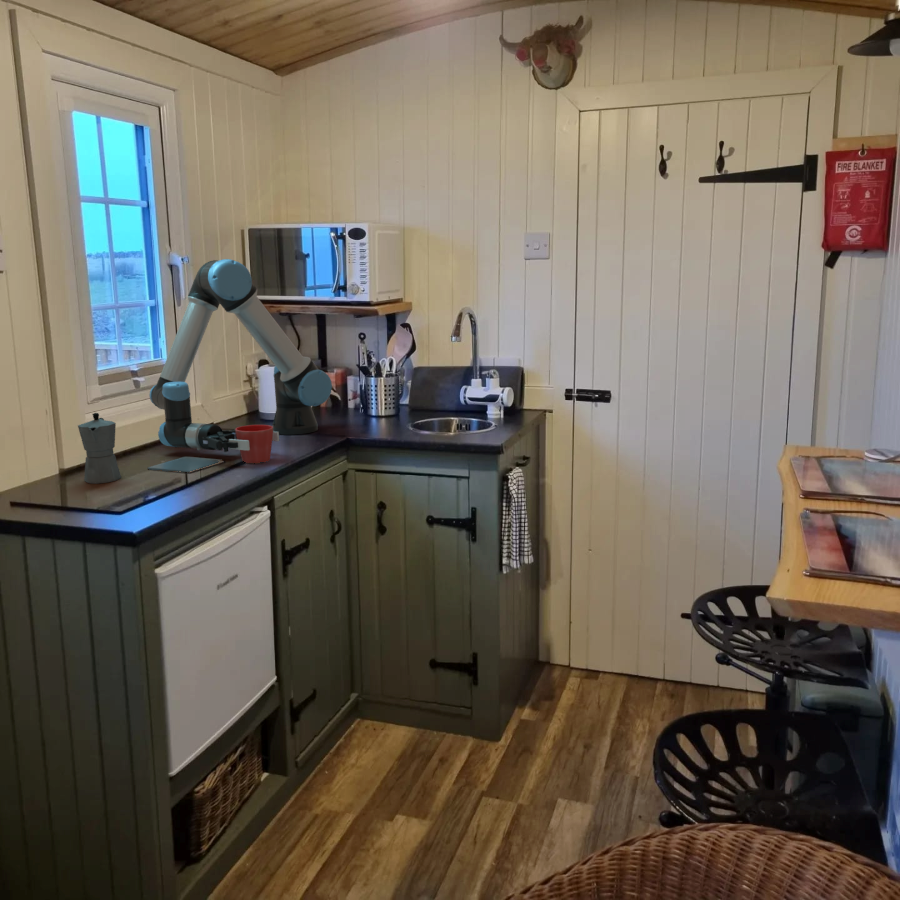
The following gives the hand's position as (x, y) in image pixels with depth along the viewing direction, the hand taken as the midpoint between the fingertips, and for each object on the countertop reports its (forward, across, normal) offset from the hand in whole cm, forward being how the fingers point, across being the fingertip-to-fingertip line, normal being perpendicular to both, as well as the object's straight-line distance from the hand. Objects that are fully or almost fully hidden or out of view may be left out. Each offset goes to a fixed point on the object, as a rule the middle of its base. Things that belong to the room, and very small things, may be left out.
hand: (263, 440), depth 250 cm
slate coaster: (-18, +12, -6) cm, 23 cm away
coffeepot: (-29, +32, -6) cm, 44 cm away
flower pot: (-3, 0, -6) cm, 7 cm away
